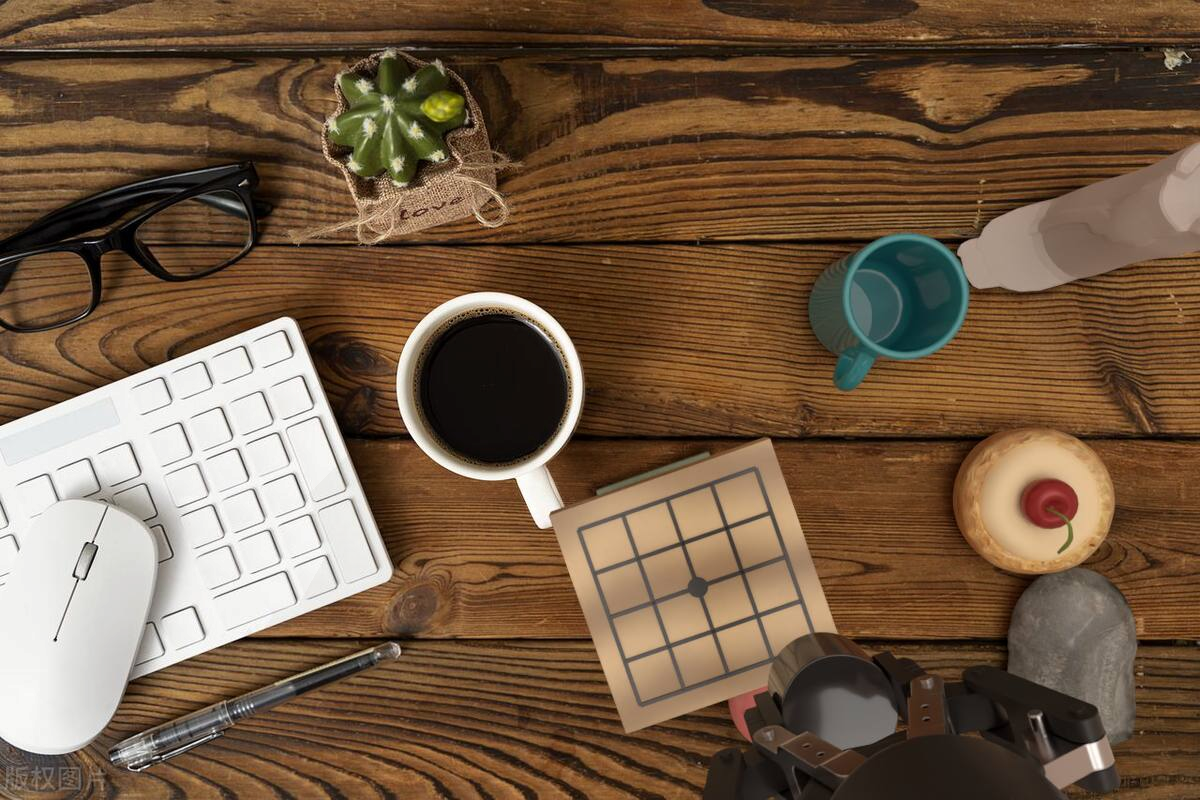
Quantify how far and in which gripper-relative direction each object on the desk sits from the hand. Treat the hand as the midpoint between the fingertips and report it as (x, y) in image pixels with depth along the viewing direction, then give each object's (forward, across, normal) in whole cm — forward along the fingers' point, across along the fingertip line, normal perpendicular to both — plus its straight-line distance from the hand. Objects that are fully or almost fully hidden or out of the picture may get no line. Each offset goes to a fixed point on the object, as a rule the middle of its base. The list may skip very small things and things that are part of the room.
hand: (827, 693), depth 37 cm
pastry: (+36, +25, -5) cm, 44 cm away
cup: (+36, +16, +13) cm, 42 cm away
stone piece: (+1, 0, 0) cm, 1 cm away
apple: (+36, 0, -14) cm, 38 cm away
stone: (+36, +24, -19) cm, 47 cm away
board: (+36, -4, +2) cm, 36 cm away
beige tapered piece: (+36, +33, +14) cm, 51 cm away
